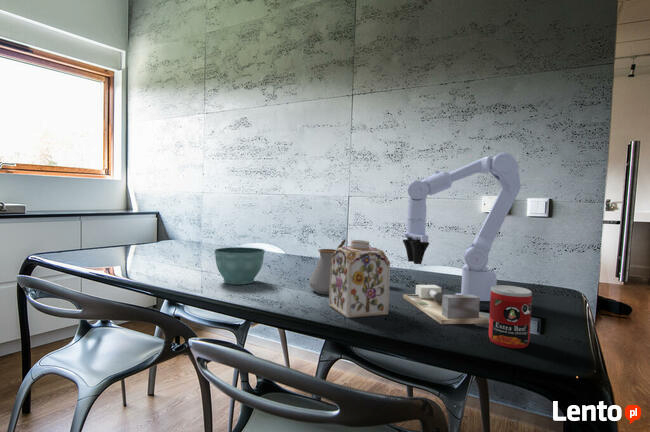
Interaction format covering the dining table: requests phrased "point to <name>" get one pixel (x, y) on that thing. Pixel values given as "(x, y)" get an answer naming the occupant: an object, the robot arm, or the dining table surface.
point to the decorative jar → (359, 280)
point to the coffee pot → (323, 271)
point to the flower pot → (239, 264)
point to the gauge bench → (438, 312)
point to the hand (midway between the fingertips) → (414, 262)
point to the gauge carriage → (429, 292)
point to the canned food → (510, 316)
